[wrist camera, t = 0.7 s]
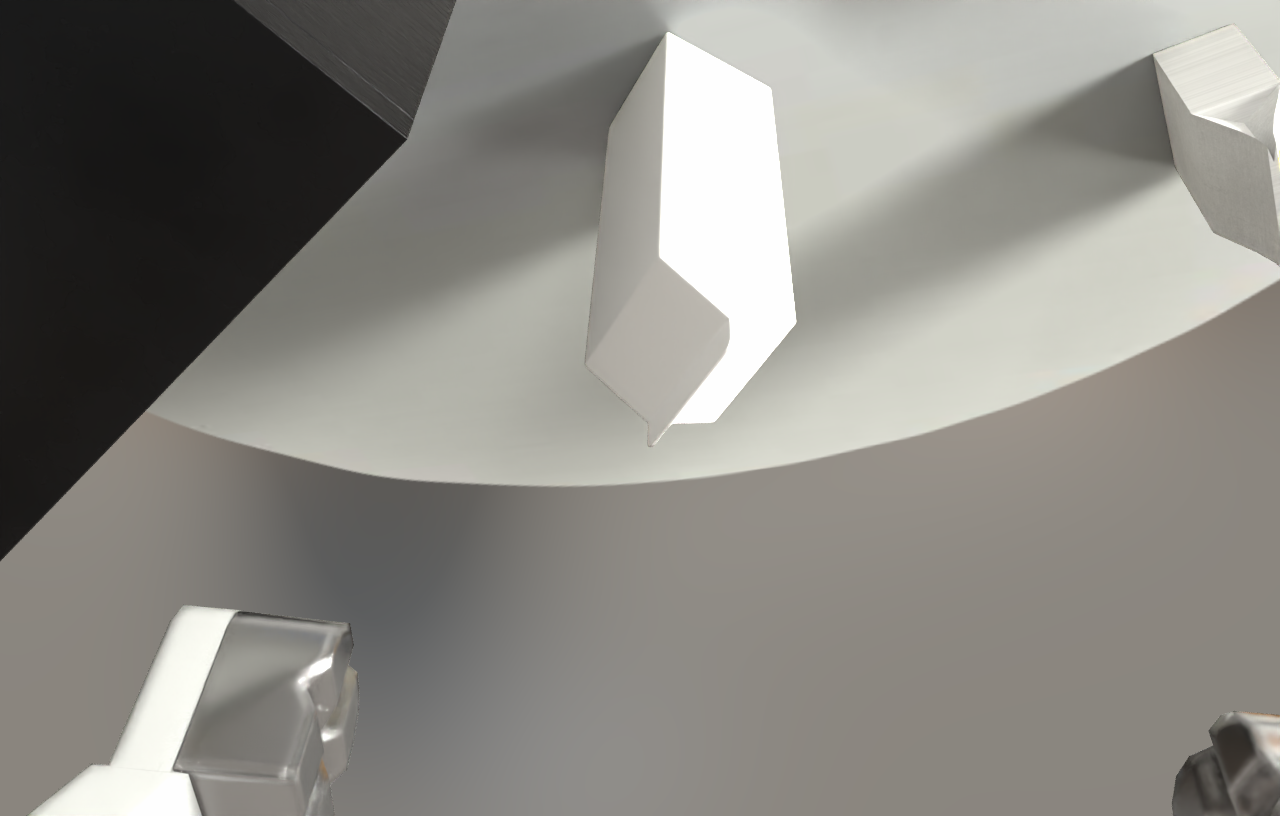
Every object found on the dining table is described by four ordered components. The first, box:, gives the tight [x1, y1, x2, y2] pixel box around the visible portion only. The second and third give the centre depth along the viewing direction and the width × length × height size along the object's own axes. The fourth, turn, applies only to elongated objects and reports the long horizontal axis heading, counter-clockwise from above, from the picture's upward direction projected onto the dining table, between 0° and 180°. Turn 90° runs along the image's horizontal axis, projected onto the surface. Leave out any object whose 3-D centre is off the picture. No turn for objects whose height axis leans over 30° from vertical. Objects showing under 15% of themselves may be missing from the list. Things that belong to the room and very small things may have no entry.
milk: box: [585, 32, 796, 447], centre depth 51 cm, size 6×6×22 cm
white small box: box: [1153, 23, 1280, 266], centre depth 55 cm, size 4×7×10 cm, turn 25°
